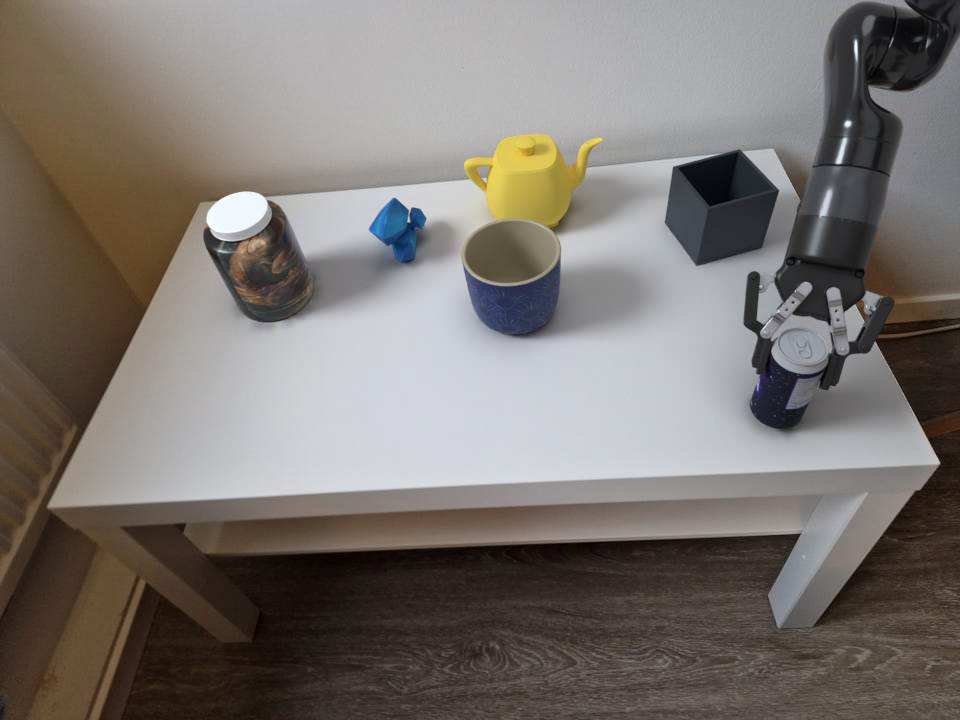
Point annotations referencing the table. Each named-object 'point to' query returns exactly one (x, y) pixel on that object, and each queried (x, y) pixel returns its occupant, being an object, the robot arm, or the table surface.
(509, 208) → the teapot
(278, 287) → the jar
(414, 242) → the crystal
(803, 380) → the beverage can
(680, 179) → the trash bin
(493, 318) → the planter
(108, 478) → the table surface
